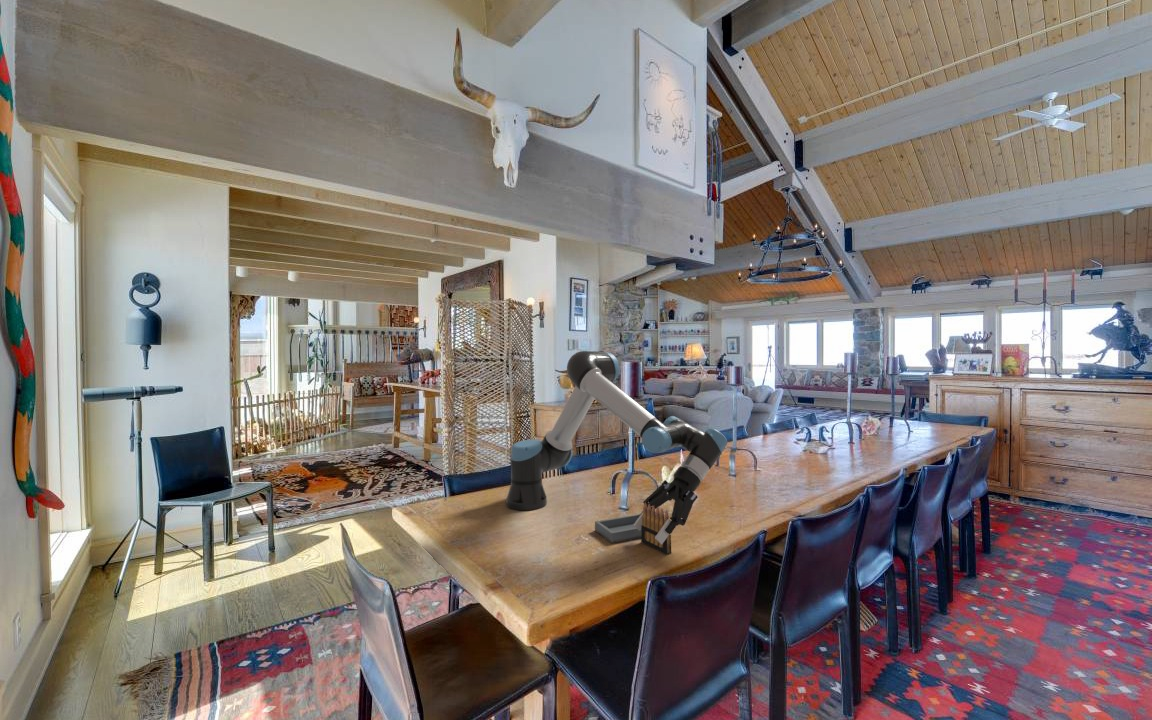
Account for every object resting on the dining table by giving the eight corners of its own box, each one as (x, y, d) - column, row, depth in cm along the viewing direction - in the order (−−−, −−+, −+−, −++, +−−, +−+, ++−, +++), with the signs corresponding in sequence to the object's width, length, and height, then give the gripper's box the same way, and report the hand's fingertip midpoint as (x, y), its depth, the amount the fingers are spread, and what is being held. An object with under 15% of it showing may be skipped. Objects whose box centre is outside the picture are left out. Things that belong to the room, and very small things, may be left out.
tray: (594, 530, 145) (594, 521, 145) (648, 521, 154) (647, 512, 154) (611, 543, 135) (611, 533, 135) (667, 532, 144) (667, 522, 144)
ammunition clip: (640, 542, 136) (640, 501, 136) (645, 540, 137) (645, 500, 137) (666, 554, 127) (666, 511, 127) (671, 553, 128) (671, 510, 128)
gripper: (724, 491, 128) (679, 557, 122) (674, 473, 149) (633, 528, 143) (709, 474, 126) (662, 540, 120) (661, 458, 147) (618, 514, 140)
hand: (647, 534), depth 131 cm, fingers closed on ammunition clip, 10 cm apart
